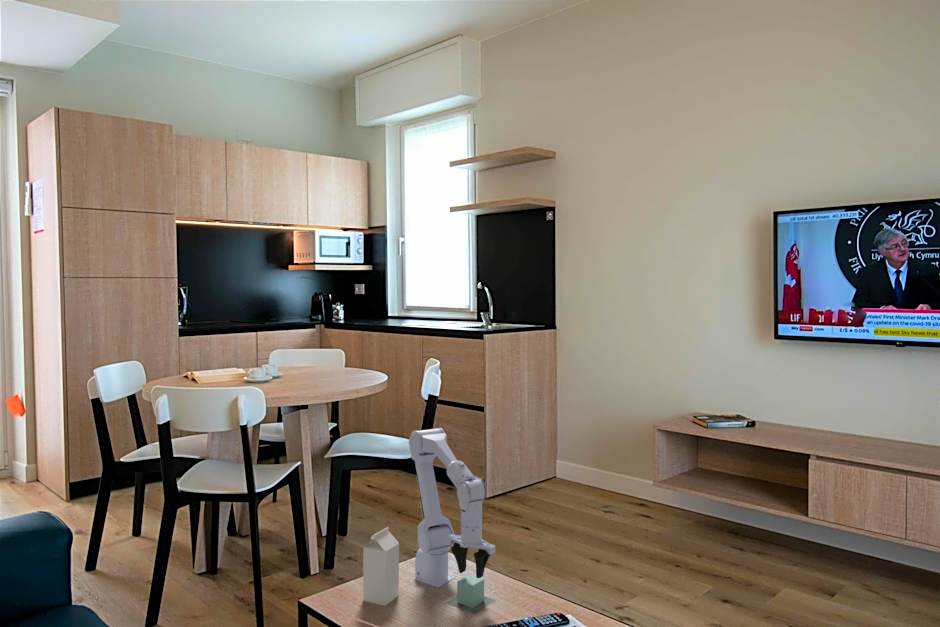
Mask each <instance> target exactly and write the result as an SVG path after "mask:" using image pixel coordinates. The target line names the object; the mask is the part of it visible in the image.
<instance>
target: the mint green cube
mask: <svg viewBox="0 0 940 627" xmlns="http://www.w3.org/2000/svg"><path fill="white" fill-rule="evenodd" d="M456 581H457V584H456V588H457V589H456V591H457V592H456V597H457V603H460V604H463V605H466V606H469V607H472V608H473V607H475V606H477V605H478V604H480V603H482V602H483V601H484V596H485V579H484V578H482V577H481V578H477V577H476V576H475V575H472V574H466V575H465V576H463V577H461V578H460V579H458V580H456Z"/></svg>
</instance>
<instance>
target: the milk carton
mask: <svg viewBox="0 0 940 627" xmlns="http://www.w3.org/2000/svg"><path fill="white" fill-rule="evenodd" d="M389 530H390V528H389V526H387V527H385V528H383V529H382V530H380V531H378V532H376V533H374V534H373V535H372V536H370V537H369V538H370V540H371V541H369V542H368V543H367V544H366V545H364V546H363V554H362V555H363V556H362V557H363V562H362V565H363V566H362V567H363V568H362V573H363V574H362V575H363V576H362V577H363V578H362V588H363V590H362V600H363V601H364V602H367V603H371V604H376V605H379V606H387V605H388V604H389V603H391V602H392V601H394V600H395V599H396V598H397V597H399V594H400V593H399V589H400V588H399V587H400V586H399V584H400V582H399V581H400V578H399V577H400V574H399V573H400V568H399V567H400V543H399V541H398V540H397V539H396V538H395V537H394V535H393V534H392V533H391V532H390V531H389Z"/></svg>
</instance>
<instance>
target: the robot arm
mask: <svg viewBox="0 0 940 627" xmlns="http://www.w3.org/2000/svg"><path fill="white" fill-rule="evenodd" d="M408 439H409V440H408V445H409V451H410V456H411V460H413V461H414V464H415V470H416V475H417V476H416V477H417V482H418V487H419V493H420V499H421V504H422V505H421V506H422V510H423V517H424V518H423V519H422V520H421V522H420V523H419V524H418V525H417V545H418V546H419V547H418V550H417V551H416V554H415V560H414V561H415V562H414V568H415V569H414V577H413V580H414V581H418V582H421V583H424V584H428V585H430V586H433V587H437V588H438V587H441V586H443V585H445V584H447V583H448V582H451V581H452V580H454V579H455V576H451V575H449V551H451V552H452V554H453V556H454V557H455V558H454V559H455V560H456V563H457V570H458V573H459V574H462V573H464V572H466V570H467V556H468V550H469V548H470V549H474V550H477V551H476V552H474V553H473V557H474V561H475V562H474V563H475V574H476V576H475V577H477V578H482V577H484V572H485V569H486V567H487V566H486V565H487V563H488V561H489V558H490V556H491V555H493V554H496V545H495V544H492V543H489V542H488V541H486V540H484V539H483V500H485V499H486V498H487V495H488V489H487V485H486V483H485V481H484V479H483V478H480V477H478V476H474V474H473V473H472V472H471V470H470V469H469V468H468V467H467V465H466V464H465V463H464V462H463V461H462V460H457V457H456V456H455V454H454V453H453V451H452V450H451V447H450V446H449V444H448V435H447V434H446V432H445V431H444V429H443V428H442V427H437V428H430V429H422V430H412V431H411V434H410V435H409V438H408ZM436 457H437V459H439V460H440V461H441V462H442V464H443V465H444V467H446V475H447V477H448V478H449V479H450V481H451V482H452V484H453V486H454V487H455V488H456V497H457V498H458V504H459V508H460V510H461V511H460V517H461V518H460V534H459V535H458V534H455V532H454V529H453V526H452V524H451V520H450V519H449V518H447V517H446V516H445V515H443V514H442V509H441V504H440V497H439V493H438V487H437V486H438V485H437V480H436V475H435V471H434V470H435V469H434V463H433V462H434V459H435V458H436ZM435 526H436V527H435ZM430 527H431V528H430Z"/></svg>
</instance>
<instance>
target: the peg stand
mask: <svg viewBox="0 0 940 627" xmlns="http://www.w3.org/2000/svg"><path fill="white" fill-rule="evenodd" d="M496 600H497V599H494V598H491V597H487V596H485V595H484V601H483V602H482V603H480V604H478V605H477V606H475V607H473V608H472V607H469V606H466V605H463V604H460V603H457V596H455V597H453V598H452V599H450V600H448V601H447V602H445V604H446V605H449V606H452V607H455V608H458V609H461V610H462V611H463V610H464V611H466V612H469V613H473V614H477V613H479V612H480V611H482V610H483V609H485V608H486V607H488V606H490V605H492V604H493V603H494V602H496Z"/></svg>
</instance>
